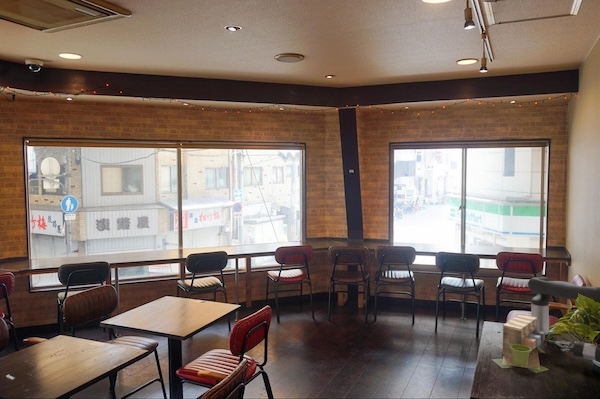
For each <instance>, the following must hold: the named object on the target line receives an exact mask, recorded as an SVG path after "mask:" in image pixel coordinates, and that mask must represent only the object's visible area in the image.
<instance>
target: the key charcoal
mask: <svg viewBox="0 0 600 399" xmlns="http://www.w3.org/2000/svg"><path fill="white" fill-rule="evenodd" d="M532 334H535V335H539V336H541V342H544V341H545V340H546V335H545V332H542V331H537V330H534V331H532Z"/></svg>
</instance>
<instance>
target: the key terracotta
mask: <svg viewBox="0 0 600 399" xmlns="http://www.w3.org/2000/svg"><path fill="white" fill-rule="evenodd" d="M523 345H525V346H528V347H530V348H531V349H533V350H535V349H536V348H537V347H536V339H531V338H527V337H524V338H523Z"/></svg>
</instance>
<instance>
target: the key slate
mask: <svg viewBox="0 0 600 399" xmlns="http://www.w3.org/2000/svg"><path fill="white" fill-rule="evenodd" d="M528 338H531V339H536V345H537V346H539V345H541V342H542V341H541V336H539V335H535V334H528Z"/></svg>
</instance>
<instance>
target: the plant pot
mask: <svg viewBox="0 0 600 399" xmlns="http://www.w3.org/2000/svg"><path fill="white" fill-rule="evenodd" d="M510 348H511V350H512V354H513V358H512V360H513V361H512V362H513V365H515V366H516V367H517V366H518V367H520V368H525V367H527V366H528V362H529V356H530V353H531V352H532V351H531V348H530V347H528V346H525V345H520V344H514V345H511V346H510ZM530 351H531V352H530Z"/></svg>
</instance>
